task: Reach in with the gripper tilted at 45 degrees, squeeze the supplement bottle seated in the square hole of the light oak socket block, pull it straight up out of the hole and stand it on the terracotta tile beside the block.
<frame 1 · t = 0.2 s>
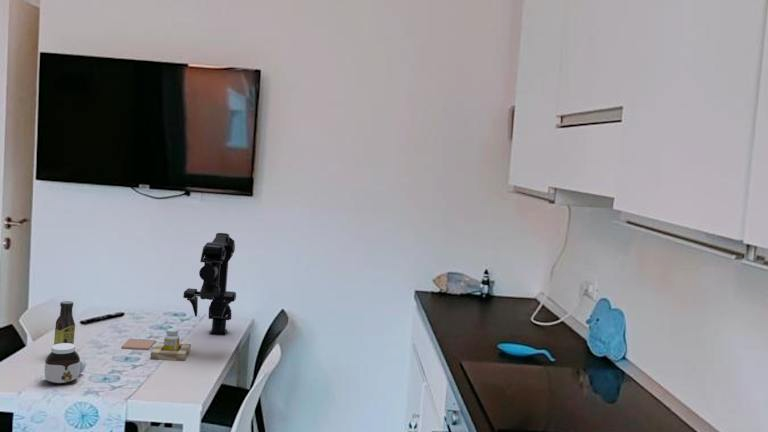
hand: (208, 317, 238), 14 cm above the table, tool pointing down, fingers open, 9 cm apart
terracotta tile: (138, 345, 242), on the table
sauce bottle: (63, 357, 222), on the table
spread jar: (65, 379, 203), on the table
supplement bottle: (170, 355, 235), resting in socket block
socket block: (170, 354, 235), on the table
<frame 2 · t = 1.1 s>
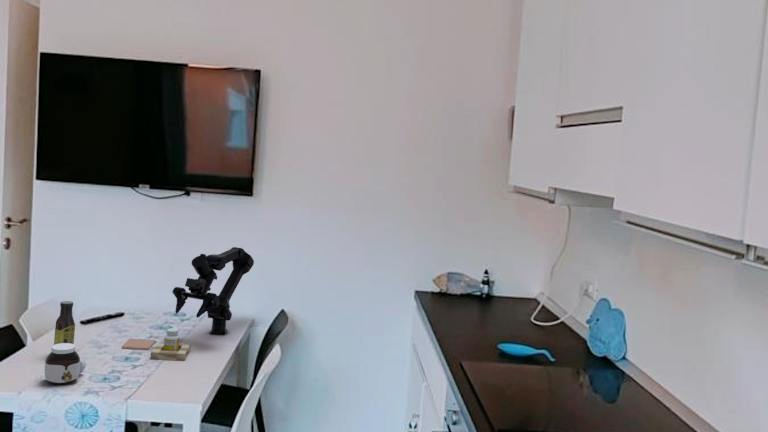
hand: (186, 314, 242), 13 cm above the table, tool tilted 45°, fingers open, 9 cm apart
nothing on the table moved.
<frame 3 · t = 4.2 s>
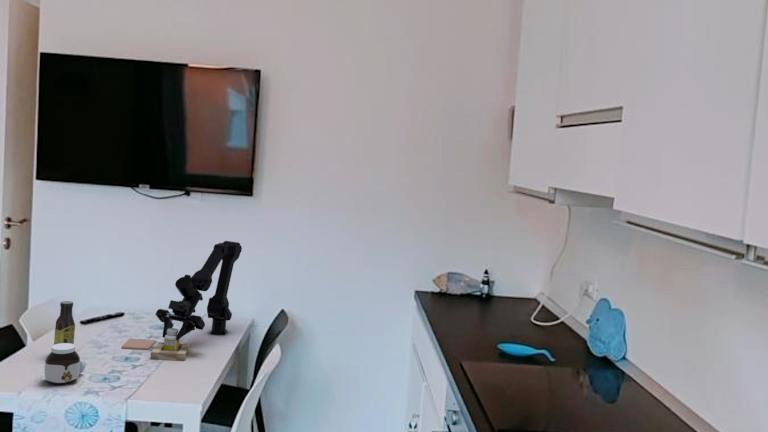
hand: (169, 338, 233), 7 cm above the table, tool tilted 45°, fingers closed on supplement bottle, 5 cm apart
supplement bottle: (170, 355, 235), resting in socket block, touching gripper
everything else where it was.
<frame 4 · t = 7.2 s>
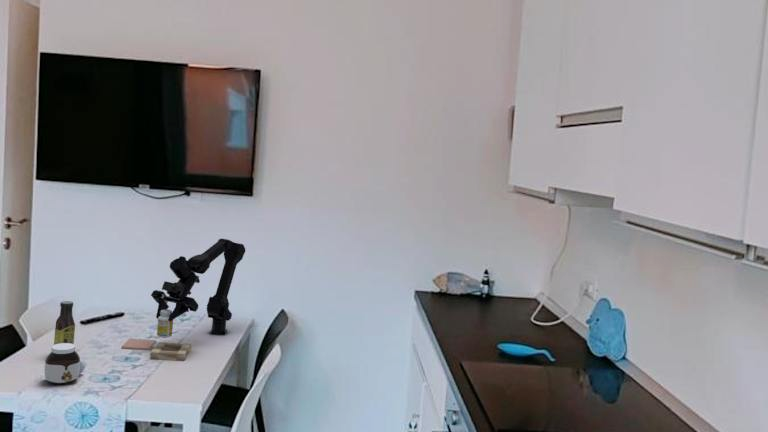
hand: (163, 319, 233), 13 cm above the table, tool tilted 45°, fingers closed on supplement bottle, 5 cm apart
supplement bottle: (164, 336, 235), point 6 cm above the table, touching gripper
everything else where it was.
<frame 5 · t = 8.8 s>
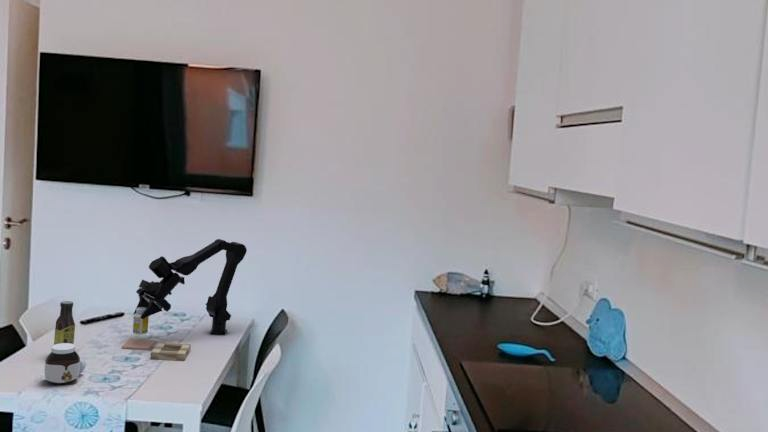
hand: (137, 316, 240), 12 cm above the table, tool tilted 45°, fingers closed on supplement bottle, 5 cm apart
supplement bottle: (140, 333, 241), point 5 cm above the table, touching gripper
everything else where it was.
when the fingers open (9 cm above the table, at t = 10.2 s): supplement bottle drops 1 cm, resting on terracotta tile.
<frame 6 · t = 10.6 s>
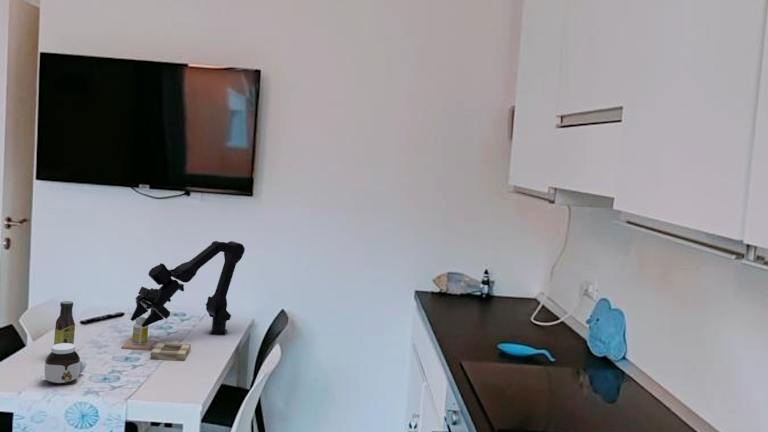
hand: (136, 323, 240), 9 cm above the table, tool tilted 45°, fingers open, 9 cm apart
supplement bottle: (139, 343, 242), point 1 cm above the table, touching terracotta tile
everything else where it was.
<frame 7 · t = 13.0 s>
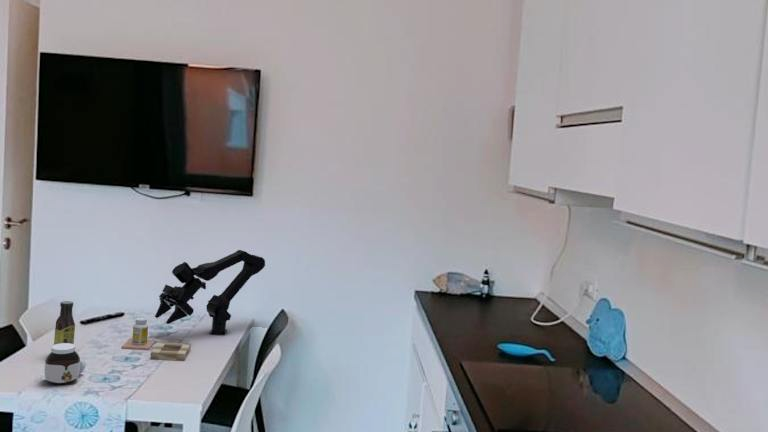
hand: (161, 320, 247), 9 cm above the table, tool tilted 45°, fingers open, 9 cm apart
nothing on the table moved.
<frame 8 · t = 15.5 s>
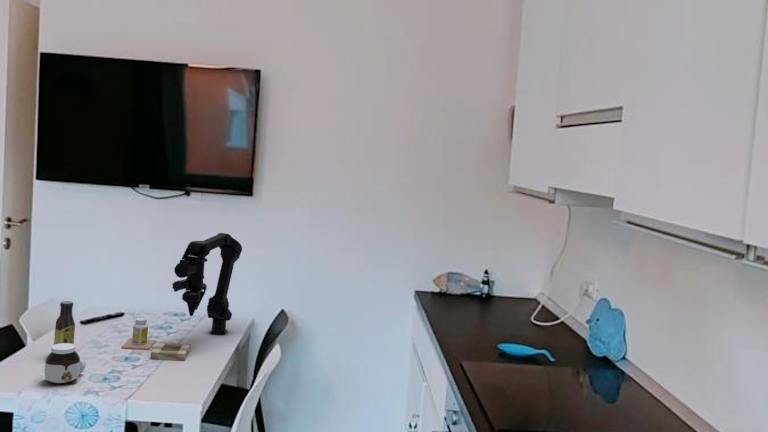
hand: (193, 312, 247), 13 cm above the table, tool pointing down, fingers open, 9 cm apart
nothing on the table moved.
at the end: supplement bottle 0.3 cm off-centre on the terracotta tile, point 0.6 cm above the terracotta tile's base; supplement bottle tilted 0°; the gripper is holding nothing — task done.
